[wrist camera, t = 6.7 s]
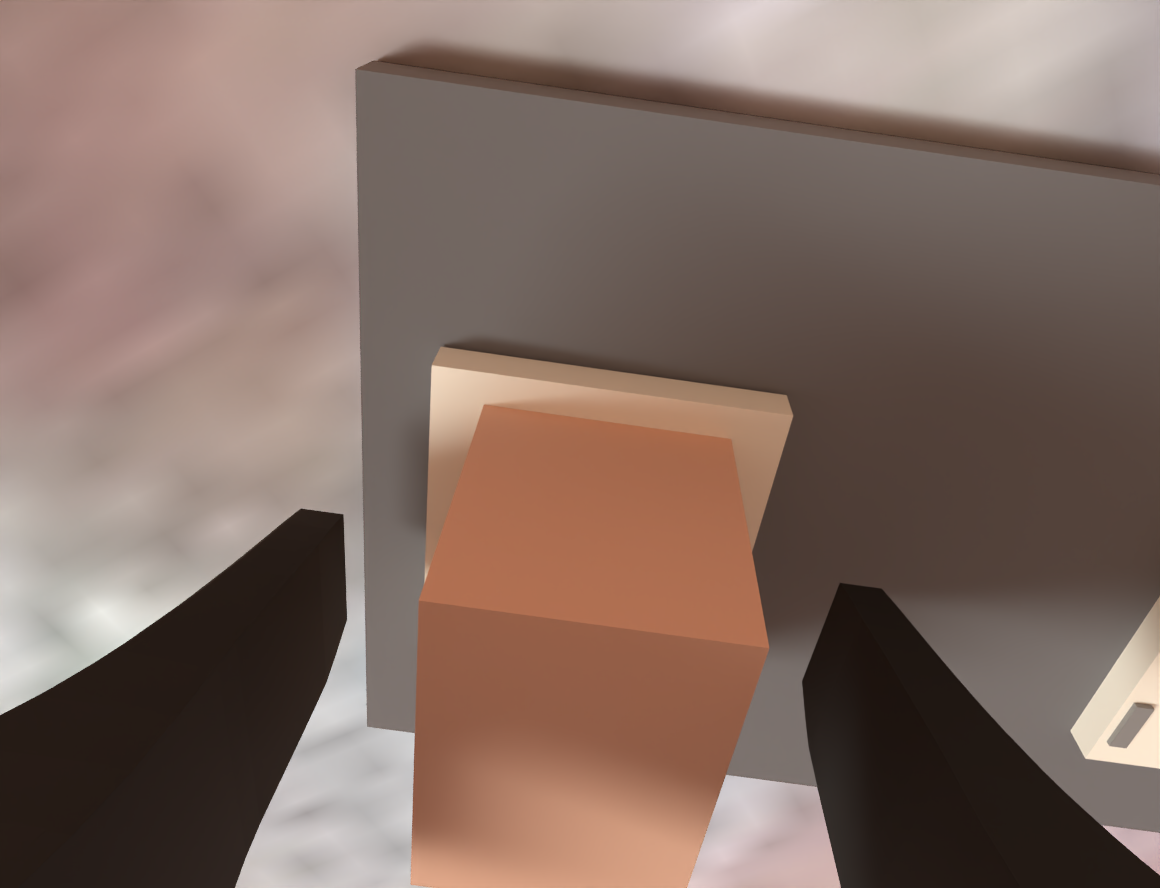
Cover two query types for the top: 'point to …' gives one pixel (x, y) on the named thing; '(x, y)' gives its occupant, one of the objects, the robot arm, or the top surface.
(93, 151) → the top surface
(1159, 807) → the mat
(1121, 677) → the photo frame
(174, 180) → the top surface
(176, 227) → the top surface
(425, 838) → the stub
